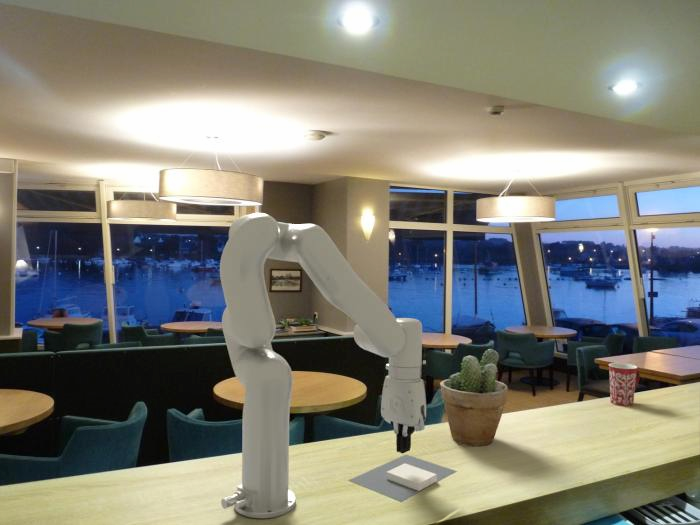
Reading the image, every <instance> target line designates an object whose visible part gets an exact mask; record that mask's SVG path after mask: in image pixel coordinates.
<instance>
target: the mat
mask: <svg viewBox="0 0 700 525" xmlns="http://www.w3.org/2000/svg"><path fill="white" fill-rule="evenodd" d="M404 463H405V464H408V465H411V466H414V467H417V468H420V469H423V470H426V471H429V472H432V473H434V474H437V481H436V482H434V483H433V484H431V485H429V486H427V487H425V488H423V489H422V490H420V491H417V490H415V489H412V488H409V487H407V486H404V485H401V484H399V483H396V482H394V481H391V480H388V479H386V476H387V471H390V470H392V469H394V468H396V467H398V466H400V465H402V464H404ZM456 472H457V470H454V469H452V468H448V467H446V466H442V465H438V464H436V463H434V462H429V461H428V460H424V459H421V458H418V457H416V456H415V457H414V456H412V455H409V454H402V455H401V456H400V457H397V458H395V459H393V460H390V461H388V462H386V463H384V464H381V465H379V466H377V467H375V468H372V469H370V470H368V471H366V472H363V473H361V474H359V475H357V476H355V477H352V478H350V479H348V481H349V482H350V483H353V484H356V485H358V486H361V487H364V488H366V489H368V490H370V491H373V492H375V493H378V494H381V495H383V496H385V497H388V498H390V499H393V500H395V501H398V502H400V503H402V502H404V501H406V500H409V498H412V497H413V496H415V495H417V494H419V493H420V492H422V491H424V490H426V489H428V488H429V487H431V486H433V485H434V484H437V483H439V482H440V481H442V480H443V479H445V478H447V477H449V476H450V475H451V476H452V475H453V474H454V473H456Z"/></svg>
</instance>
